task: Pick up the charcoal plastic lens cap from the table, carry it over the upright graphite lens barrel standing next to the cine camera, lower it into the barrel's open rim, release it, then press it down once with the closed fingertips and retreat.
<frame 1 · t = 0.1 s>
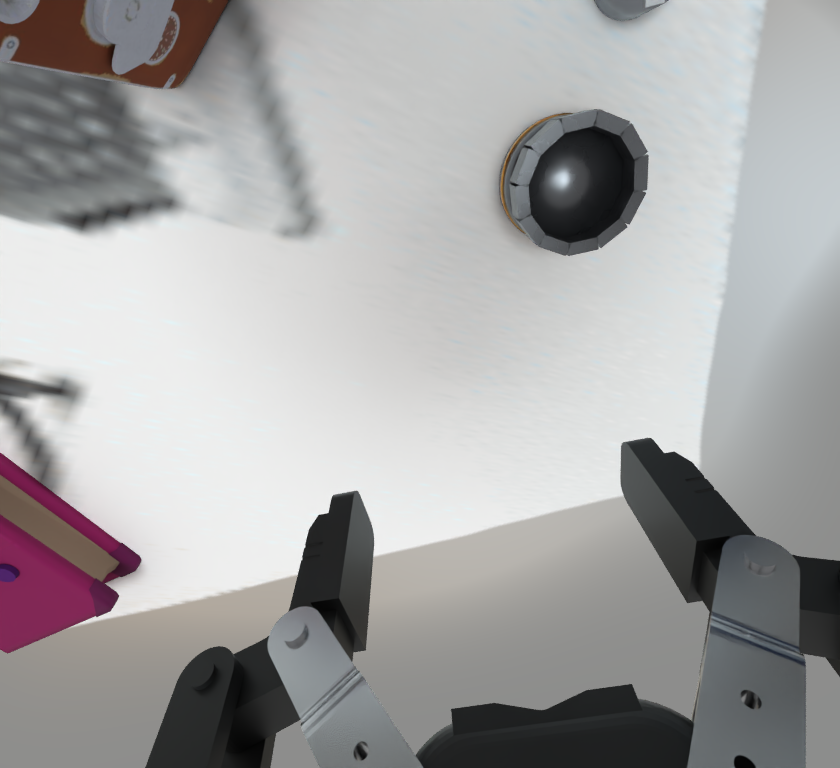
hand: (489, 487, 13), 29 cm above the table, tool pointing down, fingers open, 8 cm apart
lens barrel: (553, 179, 36), on the table
book: (1, 520, 54), on the table
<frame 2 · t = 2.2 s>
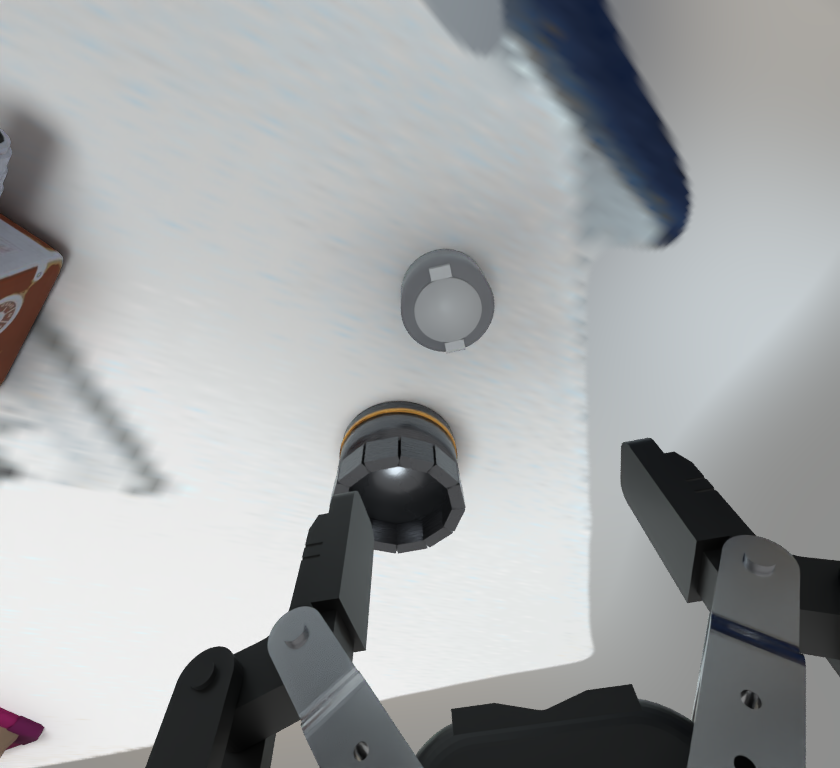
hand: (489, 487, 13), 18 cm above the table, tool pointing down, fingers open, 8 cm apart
lens barrel: (398, 448, 35), on the table
lens cap: (443, 291, 29), on the table
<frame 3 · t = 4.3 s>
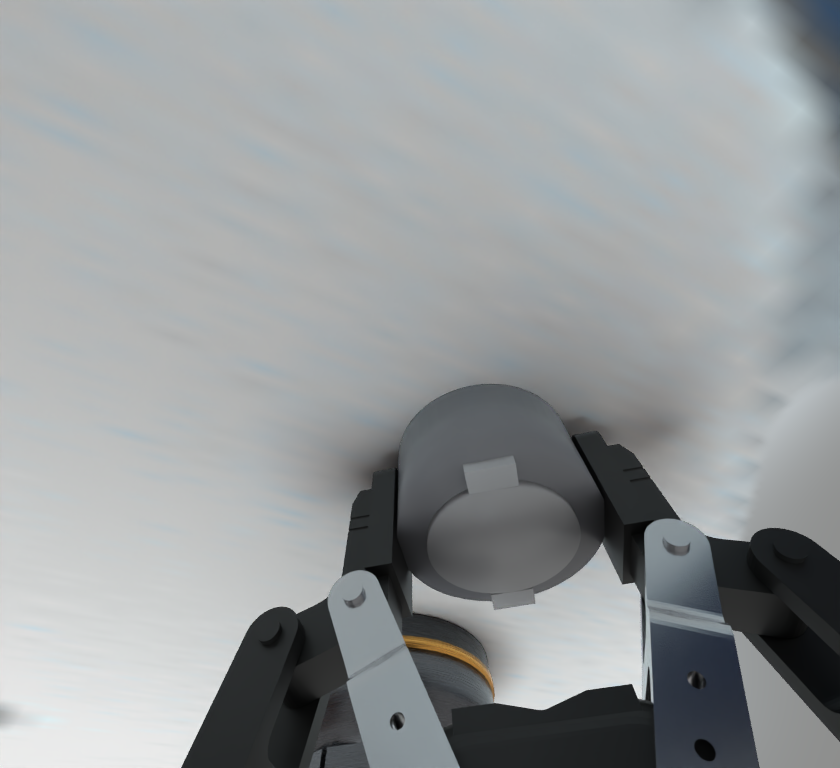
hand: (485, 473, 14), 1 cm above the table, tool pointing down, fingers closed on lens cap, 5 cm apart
lens barrel: (393, 669, 21), on the table
lens cap: (482, 456, 14), on the table, touching gripper
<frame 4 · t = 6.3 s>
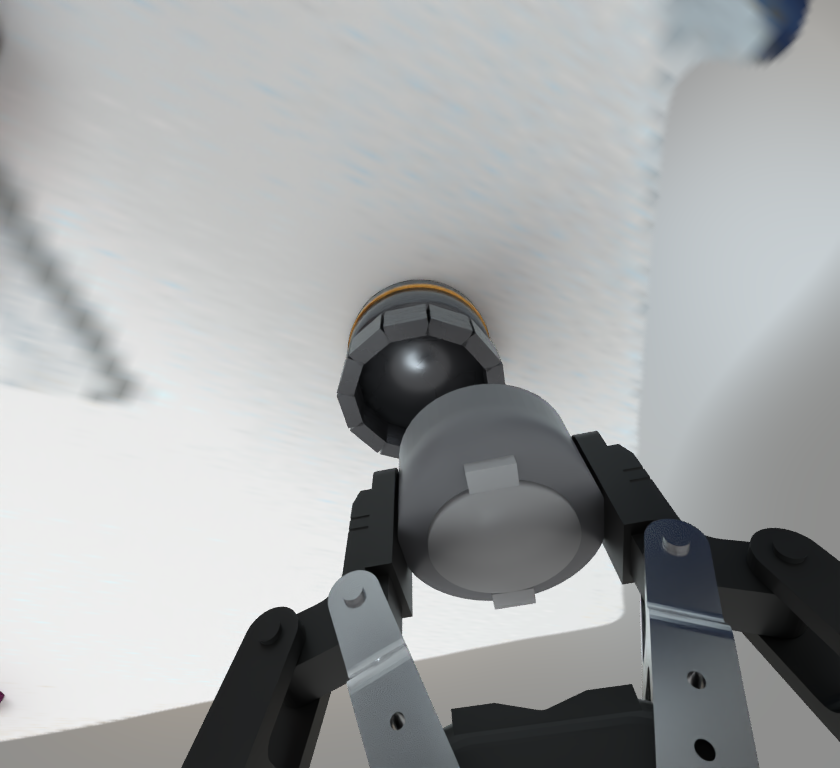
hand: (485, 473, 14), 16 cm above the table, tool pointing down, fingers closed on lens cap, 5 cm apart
lens barrel: (418, 345, 29), on the table
lens cap: (483, 456, 14), point 15 cm above the table, touching gripper
when the fingers open (7 cm above the table, at t = 8.7 s): lens cap drops 2 cm, resting on lens barrel.
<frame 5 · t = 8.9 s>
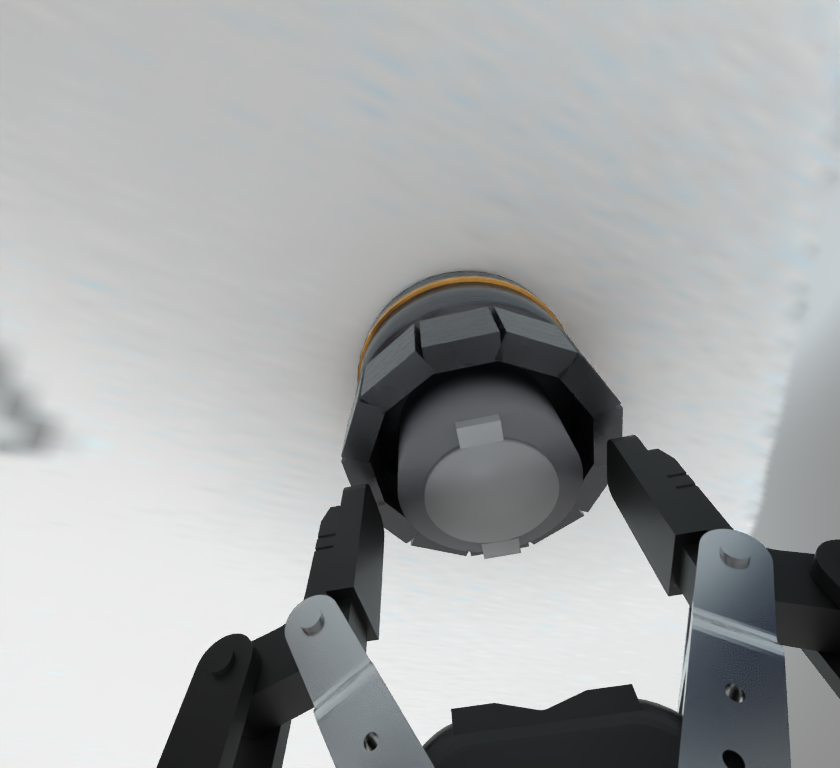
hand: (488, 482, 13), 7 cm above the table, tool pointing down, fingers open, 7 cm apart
lens barrel: (461, 368, 20), on the table
lens cap: (475, 426, 16), point 4 cm above the table, touching lens barrel
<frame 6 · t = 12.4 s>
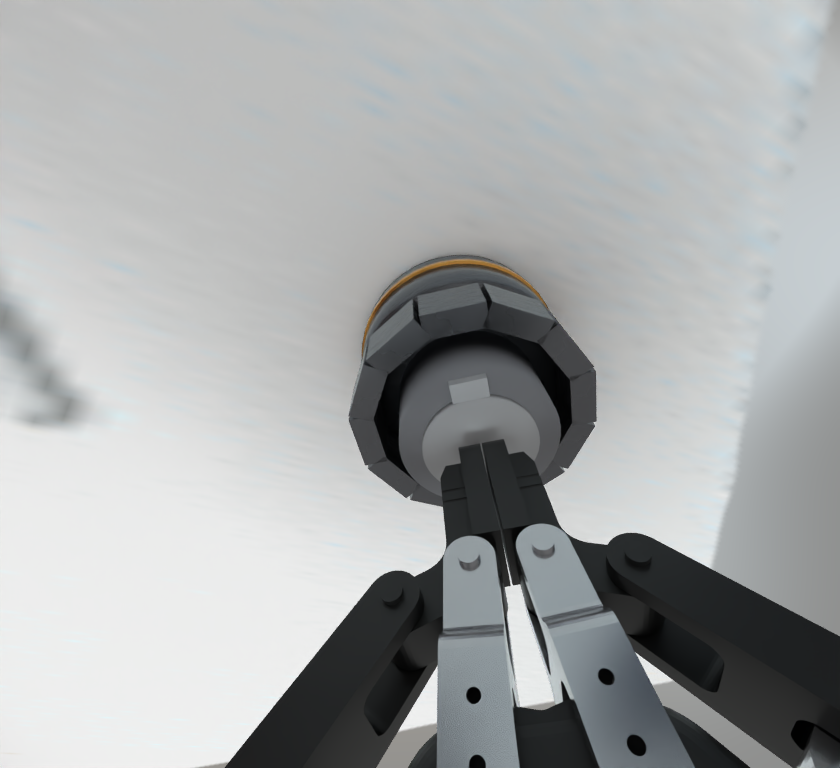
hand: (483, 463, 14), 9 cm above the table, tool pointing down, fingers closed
lens barrel: (456, 346, 22), on the table
lens cap: (467, 393, 18), point 5 cm above the table, touching lens barrel
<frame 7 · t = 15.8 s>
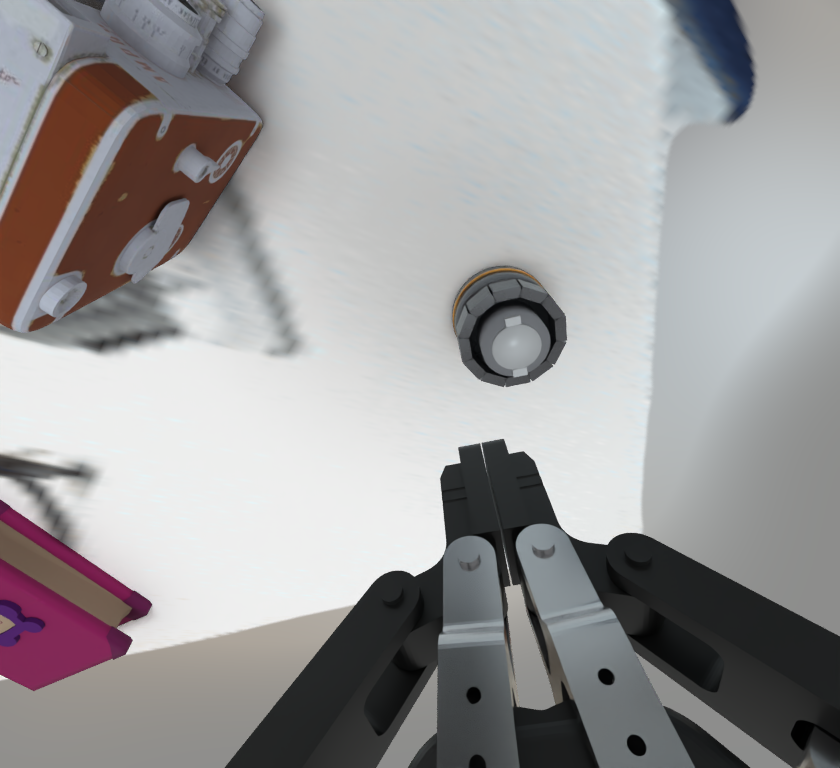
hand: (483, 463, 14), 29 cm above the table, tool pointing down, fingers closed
lens barrel: (498, 312, 42), on the table
lens cap: (508, 330, 38), point 4 cm above the table, touching lens barrel
book: (26, 573, 60), on the table
cine camera: (204, 134, 34), on the table
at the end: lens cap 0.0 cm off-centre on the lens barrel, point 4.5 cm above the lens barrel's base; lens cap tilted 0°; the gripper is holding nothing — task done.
